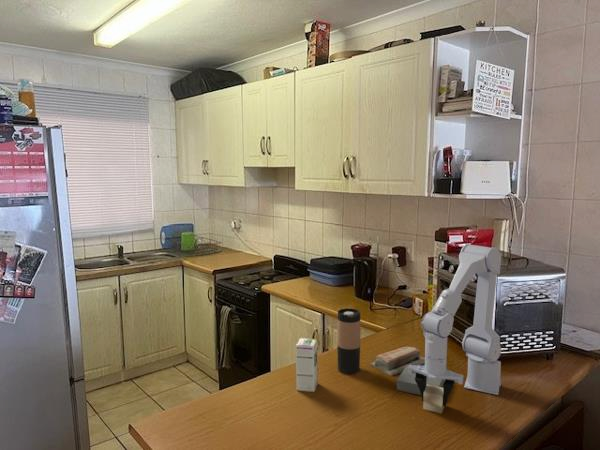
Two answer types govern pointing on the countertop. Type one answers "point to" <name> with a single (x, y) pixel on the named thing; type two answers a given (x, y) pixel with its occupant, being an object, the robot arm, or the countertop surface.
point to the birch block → (433, 399)
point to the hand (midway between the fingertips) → (434, 402)
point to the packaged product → (398, 360)
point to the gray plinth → (414, 382)
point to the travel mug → (348, 341)
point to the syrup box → (306, 365)
